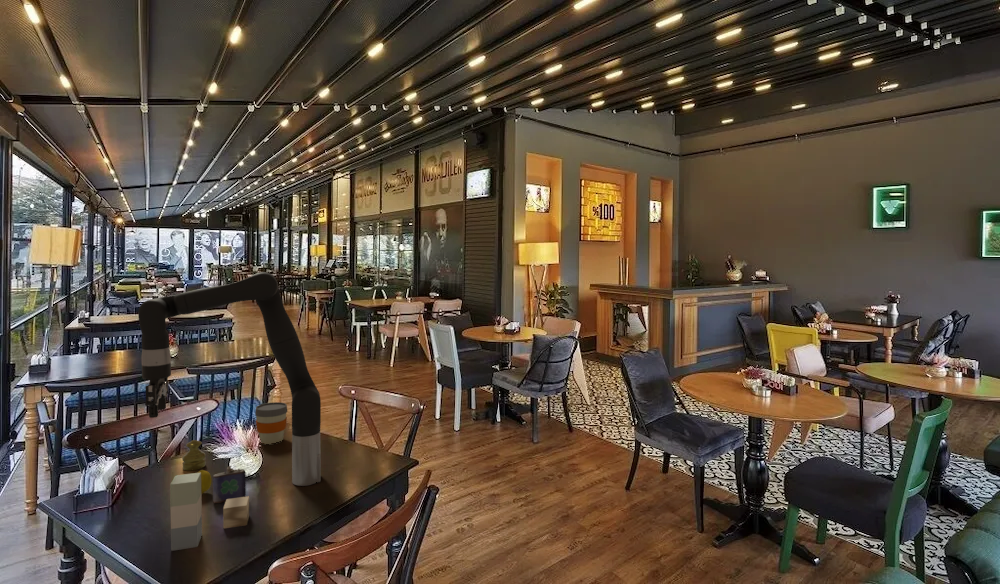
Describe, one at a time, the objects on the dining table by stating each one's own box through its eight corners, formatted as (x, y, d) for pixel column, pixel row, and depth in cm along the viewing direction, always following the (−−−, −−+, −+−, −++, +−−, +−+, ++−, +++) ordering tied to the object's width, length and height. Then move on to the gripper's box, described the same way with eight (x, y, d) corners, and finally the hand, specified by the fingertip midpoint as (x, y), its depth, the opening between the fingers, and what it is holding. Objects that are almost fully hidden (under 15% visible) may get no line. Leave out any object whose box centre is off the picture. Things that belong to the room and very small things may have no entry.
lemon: (202, 498, 160) (202, 474, 160) (188, 496, 161) (187, 472, 161) (215, 491, 165) (215, 467, 165) (201, 489, 167) (201, 465, 166)
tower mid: (201, 514, 139) (201, 493, 138) (197, 525, 133) (196, 503, 133) (176, 518, 137) (176, 496, 136) (170, 528, 131) (170, 506, 131)
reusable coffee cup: (289, 443, 210) (289, 408, 209) (256, 448, 204) (256, 412, 203) (285, 434, 221) (285, 400, 220) (254, 438, 215) (254, 404, 214)
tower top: (201, 493, 138) (201, 472, 138) (196, 503, 133) (196, 481, 132) (176, 496, 136) (175, 475, 136) (170, 506, 131) (170, 484, 130)
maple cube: (249, 515, 150) (248, 496, 150) (246, 525, 145) (246, 505, 144) (226, 518, 148) (226, 499, 148) (223, 528, 143) (223, 508, 142)
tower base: (202, 535, 139) (201, 514, 139) (197, 546, 133) (197, 525, 133) (177, 539, 137) (176, 518, 137) (171, 551, 131) (170, 528, 131)
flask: (213, 504, 156) (212, 471, 156) (213, 500, 159) (212, 467, 158) (246, 498, 161) (245, 465, 161) (245, 494, 164) (245, 462, 163)
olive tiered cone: (209, 466, 185) (209, 439, 185) (188, 473, 179) (188, 445, 179) (199, 461, 189) (199, 435, 189) (178, 468, 183) (178, 441, 182)
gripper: (163, 366, 150) (165, 418, 151) (176, 357, 164) (177, 406, 165) (134, 367, 148) (136, 421, 149) (149, 358, 161) (150, 408, 162)
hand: (157, 413), depth 157 cm, fingers open, 8 cm apart
